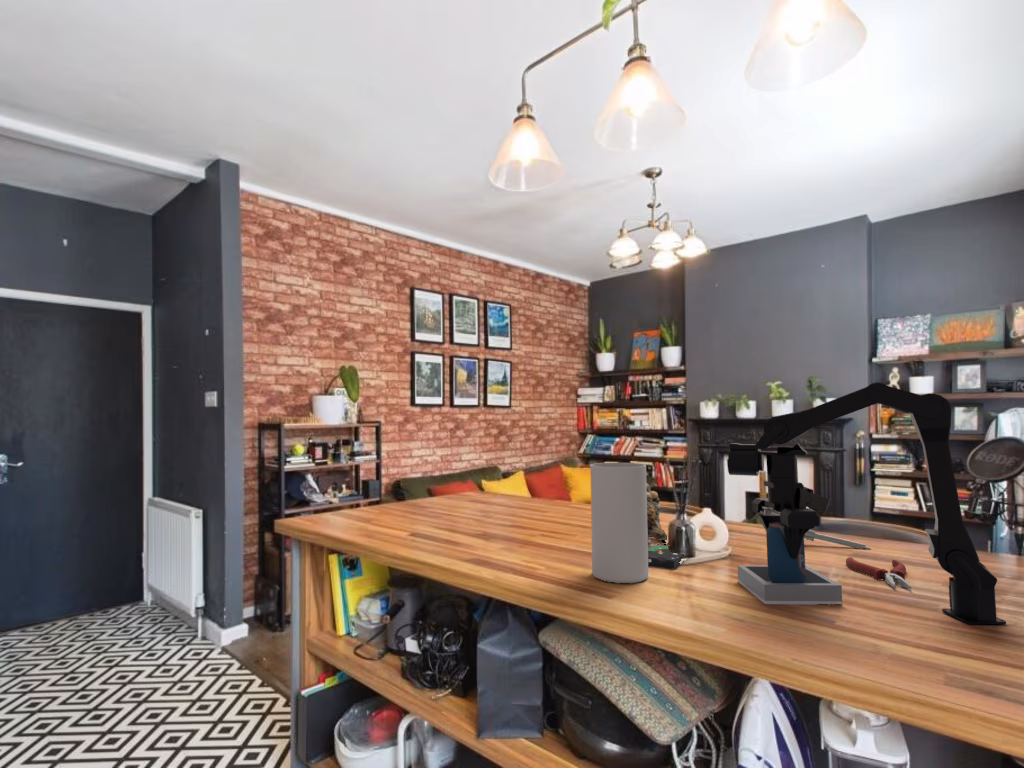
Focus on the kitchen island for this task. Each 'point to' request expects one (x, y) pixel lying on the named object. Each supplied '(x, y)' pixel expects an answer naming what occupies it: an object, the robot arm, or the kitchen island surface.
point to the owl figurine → (654, 515)
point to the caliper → (833, 540)
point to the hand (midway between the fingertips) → (785, 554)
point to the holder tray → (789, 587)
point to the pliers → (881, 572)
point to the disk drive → (663, 557)
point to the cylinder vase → (619, 522)
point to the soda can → (783, 558)
